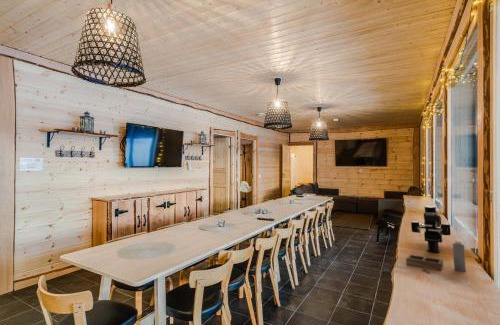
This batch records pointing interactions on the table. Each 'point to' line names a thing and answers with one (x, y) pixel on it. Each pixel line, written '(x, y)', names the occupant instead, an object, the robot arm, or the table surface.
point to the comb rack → (425, 262)
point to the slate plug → (459, 256)
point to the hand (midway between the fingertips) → (429, 232)
